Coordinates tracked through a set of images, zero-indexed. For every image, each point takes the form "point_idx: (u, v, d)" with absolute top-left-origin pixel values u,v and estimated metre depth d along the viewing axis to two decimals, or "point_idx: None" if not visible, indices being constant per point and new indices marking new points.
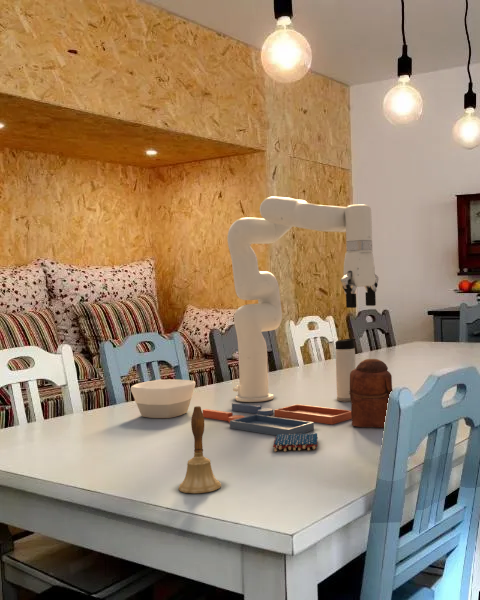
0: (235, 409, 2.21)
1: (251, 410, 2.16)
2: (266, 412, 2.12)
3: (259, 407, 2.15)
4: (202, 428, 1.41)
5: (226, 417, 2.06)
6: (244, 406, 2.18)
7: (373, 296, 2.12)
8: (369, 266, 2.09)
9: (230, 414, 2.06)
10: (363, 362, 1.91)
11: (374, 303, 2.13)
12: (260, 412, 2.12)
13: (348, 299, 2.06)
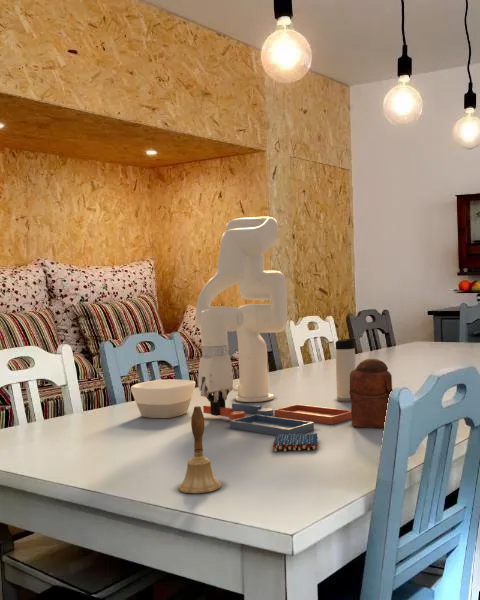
0: (235, 409, 2.21)
1: (251, 410, 2.16)
2: (266, 412, 2.12)
3: (259, 407, 2.15)
4: (202, 428, 1.41)
5: (227, 413, 2.07)
6: (244, 406, 2.18)
7: (222, 405, 2.10)
8: (224, 370, 2.09)
9: (231, 410, 2.07)
10: (363, 362, 1.91)
11: None
12: (260, 412, 2.12)
13: (211, 407, 2.09)
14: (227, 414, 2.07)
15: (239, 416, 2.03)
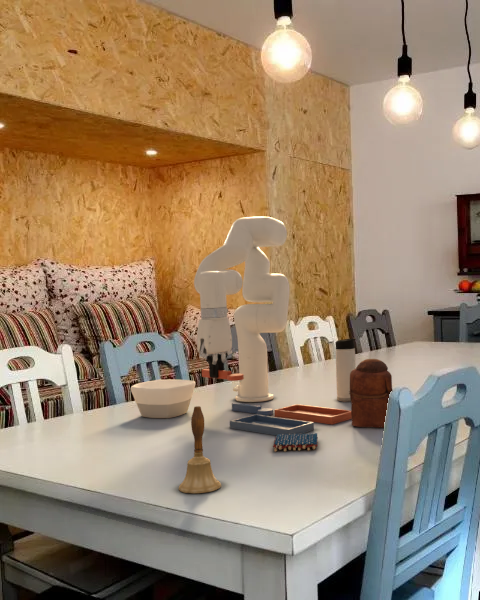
0: (235, 409, 2.21)
1: (251, 410, 2.16)
2: (266, 412, 2.12)
3: (259, 407, 2.15)
4: (202, 428, 1.41)
5: (225, 375, 2.06)
6: (244, 406, 2.18)
7: (221, 367, 2.09)
8: (223, 333, 2.08)
9: (229, 372, 2.06)
10: (363, 362, 1.91)
11: None
12: (260, 412, 2.12)
13: (210, 369, 2.08)
14: (225, 376, 2.06)
15: (237, 378, 2.03)
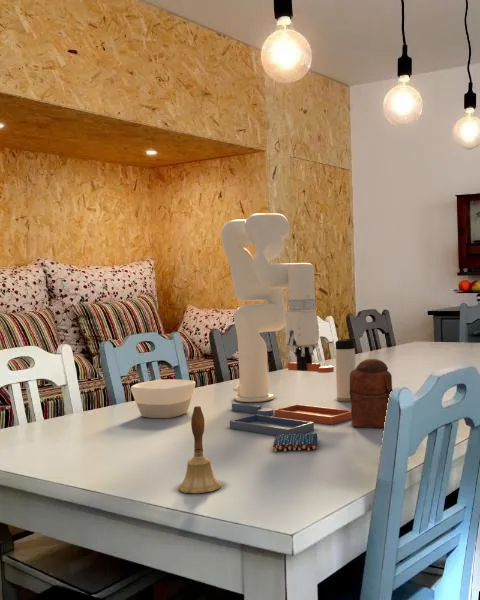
0: (235, 409, 2.21)
1: (251, 410, 2.16)
2: (266, 412, 2.12)
3: (259, 407, 2.15)
4: (202, 428, 1.41)
5: (314, 368, 2.04)
6: (244, 406, 2.18)
7: (309, 360, 2.08)
8: (311, 325, 2.07)
9: (318, 365, 2.04)
10: (363, 362, 1.91)
11: None
12: (260, 412, 2.12)
13: (298, 362, 2.06)
14: (315, 369, 2.04)
15: (328, 369, 2.01)
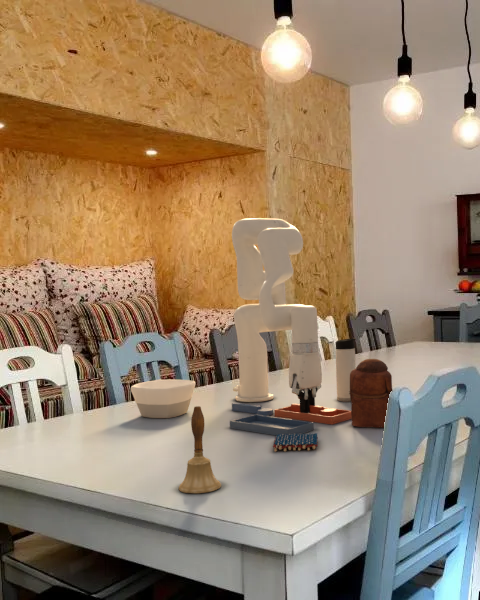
0: (235, 409, 2.21)
1: (251, 410, 2.16)
2: (266, 412, 2.12)
3: (259, 407, 2.15)
4: (202, 428, 1.41)
5: (317, 411, 2.05)
6: (244, 406, 2.18)
7: (312, 402, 2.08)
8: (315, 368, 2.07)
9: (321, 408, 2.05)
10: (363, 362, 1.91)
11: None
12: (260, 412, 2.12)
13: (301, 405, 2.07)
14: (318, 412, 2.05)
15: (331, 413, 2.01)
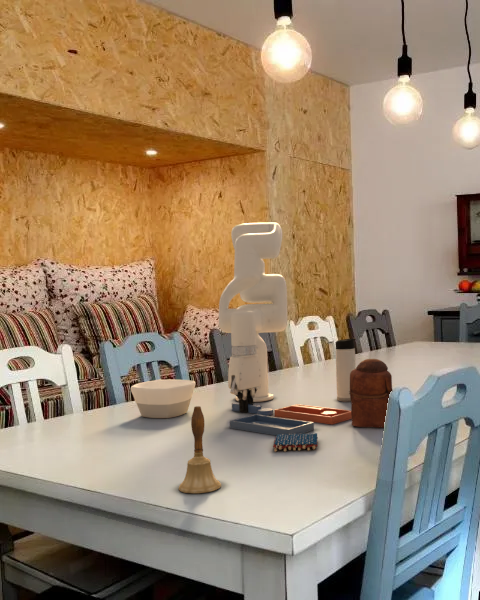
0: (235, 409, 2.21)
1: (251, 410, 2.16)
2: (266, 412, 2.12)
3: (259, 407, 2.15)
4: (202, 428, 1.41)
5: (317, 413, 2.05)
6: None
7: (251, 402, 2.19)
8: (253, 369, 2.18)
9: (322, 410, 2.05)
10: (363, 362, 1.91)
11: None
12: (260, 412, 2.12)
13: (240, 404, 2.17)
14: (318, 414, 2.05)
15: None
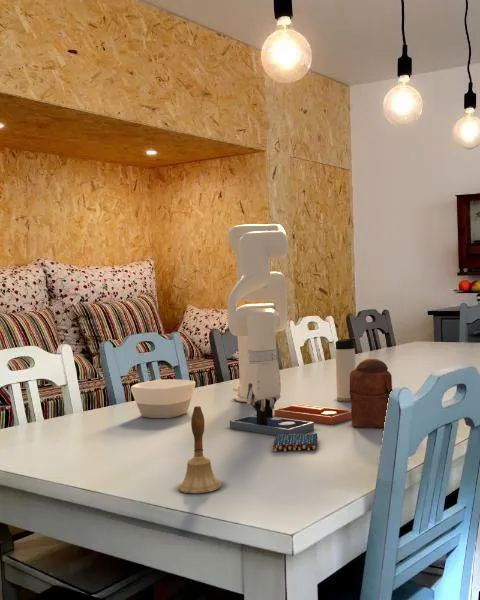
0: (252, 423, 1.97)
1: (270, 424, 1.92)
2: (288, 426, 1.87)
3: (279, 420, 1.91)
4: (202, 428, 1.41)
5: (317, 413, 2.05)
6: None
7: (270, 414, 1.94)
8: (272, 377, 1.94)
9: (322, 410, 2.05)
10: (363, 362, 1.91)
11: None
12: (281, 426, 1.88)
13: (258, 417, 1.93)
14: (318, 414, 2.05)
15: None
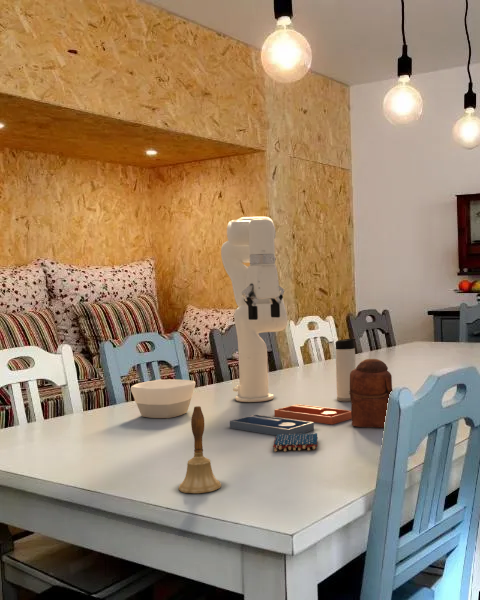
0: (252, 423, 1.97)
1: (270, 425, 1.92)
2: (288, 427, 1.87)
3: (279, 421, 1.91)
4: (202, 428, 1.41)
5: (317, 413, 2.05)
6: (262, 420, 1.94)
7: (277, 308, 2.17)
8: (271, 279, 2.14)
9: (322, 410, 2.05)
10: (363, 362, 1.91)
11: (278, 315, 2.17)
12: (281, 427, 1.88)
13: (250, 311, 2.10)
14: (318, 414, 2.05)
15: None
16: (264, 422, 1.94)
